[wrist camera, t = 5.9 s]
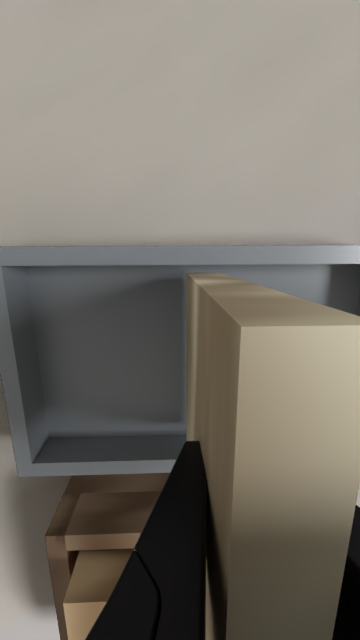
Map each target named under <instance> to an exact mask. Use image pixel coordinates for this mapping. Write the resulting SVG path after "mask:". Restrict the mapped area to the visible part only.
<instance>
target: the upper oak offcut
mask: <svg viewBox="0 0 360 640" xmlns="http://www.w3.org/2000/svg"><path fill="white" fill-rule="evenodd" d="M132 551H134V550H111V551H84V552H79V554H78V557H77V560H76V563H75V567H74V570H73V573H72V576H71V579H70V583H69V586H68V589H67V592H66V595H65V599H64V602H63V607H64V614H65V621H66V628H67V635H68V640H85V639H86V637H87V635H88V633H89V632H90V630H91V628H92V626H93V625H94V623H95V621H96V620H97V618H98V616H99V614H100V613H101V611H102V609H103V608H104V606H105V604H106V602H107V601H108V599H109V597H110V595H111V593H112V591H113V589H114V587H115V585H116V583H117V581H118V579H119V577H120V575H121V573H122V571H123V569H124V567H125V565H126V563H127V561H128V559H129V557H130V555H131V553H132Z"/></svg>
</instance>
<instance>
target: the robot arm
mask: <svg viewBox="0 0 360 640" xmlns="http://www.w3.org/2000/svg"><path fill="white" fill-rule="evenodd" d="M206 514H207V477H206V471H205V466H204V461H203V456H202V451H201V447H200V442H199V441H186V442H185V443H184V445H183V447H182V449H181V451H180V453H179V455H178V457H177V459H176V461H175V464H174V466H173V468H172V470H171V472H170V474H169V476H168V478H167V480H166V482H165V484H164V486H163V489H162V491H161V493H160V495H159V497H158V499H157V501H156V503H155V505H154V507H153V509H152V511H151V514H150V516H149V518H148V520H147V522H146V524H145V526H144V528H143V530H142V532H141V534H140V537H139V539H138V541H137V543H136V545H135V547H134V551H132V553H131V555H130V557H129V559H128V561H127V563H126V565H125V567H124V569H123V571H122V573H121V575H120V577H119V579H118V581H117V583H116V585H115V587H114V589H113V591H112V593H111V595H110V597H109V599H108V601H107V602H106V604H105V606H104V608H103V609H102V611H101V613H100V614H99V616H98V618H97V620H96V621H95V623H94V625H93V626H92V628H91V630H90V632H89V633H88V635H87V637H86V639H85V640H205V634H206ZM332 640H360V507H358V506H357V505H356V506H355V512H354V518H353V523H352V529H351V535H350V540H349V546H348V552H347V557H346V563H345V569H344V574H343V580H342V586H341V591H340V597H339V603H338V608H337V614H336V620H335V625H334V631H333V636H332Z"/></svg>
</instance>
